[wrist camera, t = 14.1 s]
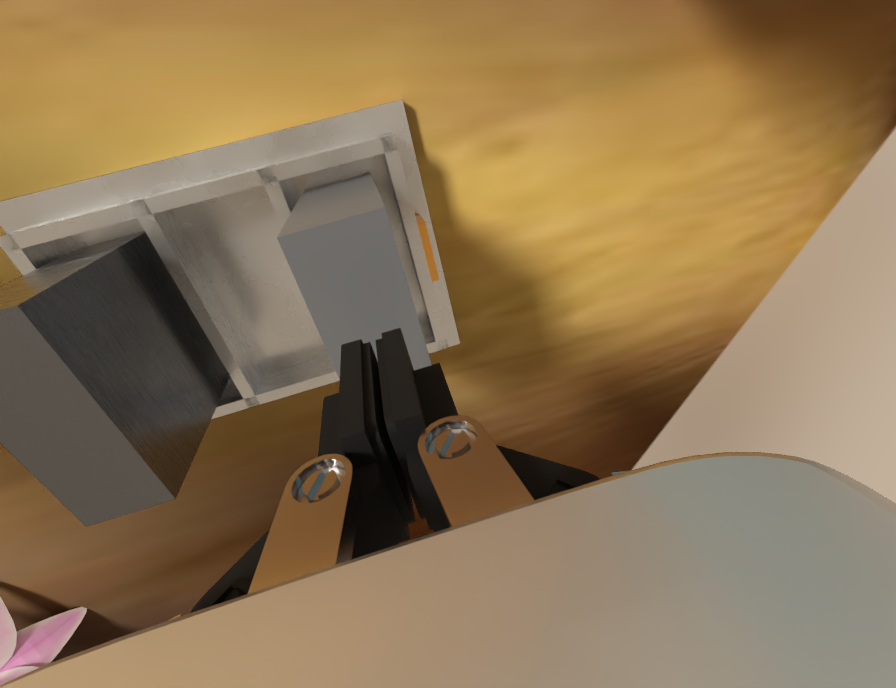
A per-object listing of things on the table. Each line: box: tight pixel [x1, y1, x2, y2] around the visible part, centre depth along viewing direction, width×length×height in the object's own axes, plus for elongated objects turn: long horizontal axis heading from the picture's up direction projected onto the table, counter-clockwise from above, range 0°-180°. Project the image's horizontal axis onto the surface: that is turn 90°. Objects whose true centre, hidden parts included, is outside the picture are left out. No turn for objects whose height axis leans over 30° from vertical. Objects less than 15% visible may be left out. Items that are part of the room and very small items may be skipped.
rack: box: [0, 100, 460, 527], centre depth 18 cm, size 13×18×10 cm
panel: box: [277, 172, 432, 380], centre depth 18 cm, size 8×3×9 cm, turn 14°
